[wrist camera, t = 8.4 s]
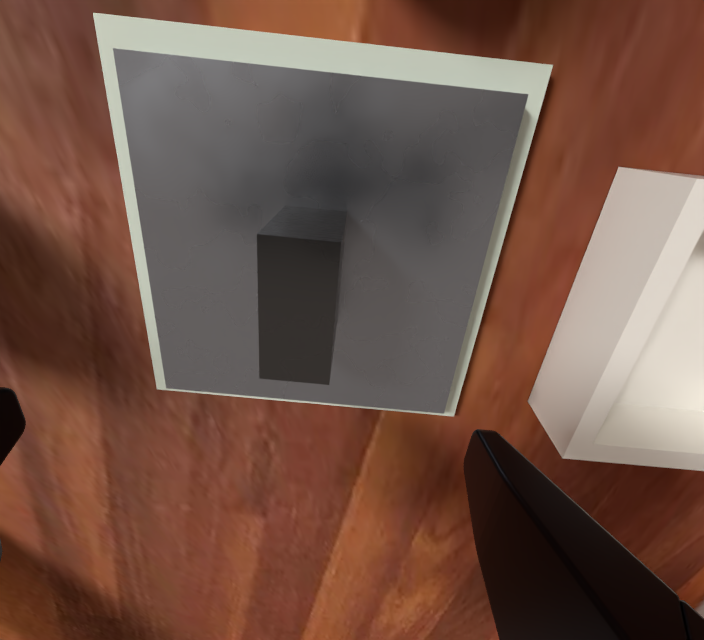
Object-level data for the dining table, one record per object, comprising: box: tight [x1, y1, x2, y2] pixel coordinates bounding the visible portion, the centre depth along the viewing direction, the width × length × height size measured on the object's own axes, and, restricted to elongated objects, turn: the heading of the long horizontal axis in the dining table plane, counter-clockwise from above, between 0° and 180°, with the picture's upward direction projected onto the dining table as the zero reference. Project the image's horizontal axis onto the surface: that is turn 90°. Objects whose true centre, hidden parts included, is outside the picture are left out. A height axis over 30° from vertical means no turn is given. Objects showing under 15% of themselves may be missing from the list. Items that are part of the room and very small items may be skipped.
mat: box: [93, 13, 553, 416], centre depth 17 cm, size 16×16×1 cm
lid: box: [113, 48, 529, 414], centre depth 14 cm, size 14×14×6 cm
